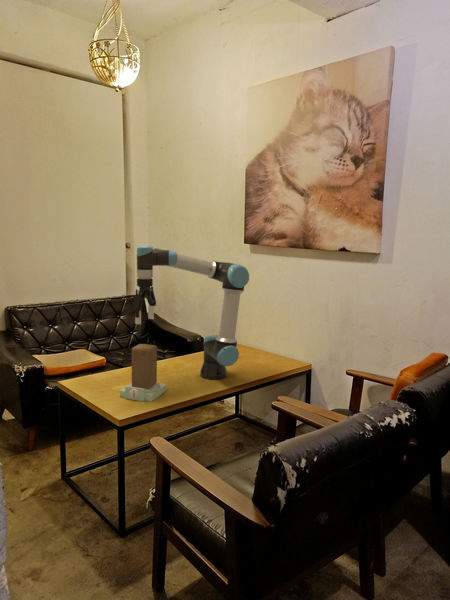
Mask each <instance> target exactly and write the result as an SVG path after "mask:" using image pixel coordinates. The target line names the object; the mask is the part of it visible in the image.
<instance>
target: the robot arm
mask: <svg viewBox="0 0 450 600" xmlns="http://www.w3.org/2000/svg"><path fill="white" fill-rule="evenodd" d="M153 266H154V267H156V266H160V267H161V266H162V267H163V266H165V267H170V268H174V269H179V270H183V271H187V272H191V273H194V274H195V273H196V274H200V275H203V276H207V277H208V278H209V279H213V280H215V281H218V282H219V283H220V282H221V283H222V286H221V289H222V290H223V292H224V293H223V301H222V309H221V314H220V315H221V316H220V325H219V333H218V334H217V335H216V334H215V335H207V336H205V337H203V339H204V340H203V363H202V365H201V368H200V372H199V373H200V374H199V376H200V377H201V378H203V379H207V380H222V379H225V378H227V377H228V376H227V375H228V373H227V371H228V370H227V368H226V367H230V366H233V365H234V364H235V363H237V361H238V360H239V358H240V351H239V349H238V347H237V345H238V340H237V339H236V331H237V324H238V317H239V309H240V308H239V306H240V300H241V294H242V293H243V292H245V286H246V285H247V284H248V283H249V281H250V273H249V271H248V269H247V267H246V266H244V265H242V264H239V263H232V262H223V261H216V260H211V261H208V260H204V259H201V258H200V259H199V258H196V257H192V256H187V255H183V254H179V253H178V252H177V251H176V250H173V249H172V250H170V249H167V250H166V249H161V248H154V247H153V246H152V245H139V246H137V248H136V277H137V279H136V285H137V287H139V289H135V296H134V299H133V305H132V311H135V312H134V318H135V319H134V324H136V325H141V324H142V310H141V309H142V306H143V302H144V300H146V301H147V303H148V307H147V314H148V316H147V317H148V320H154V318H155V307H156V306H157V300H156V296H155V292H154V286H153V285H154V283H153V281H154V280H153V277H154V274H153V273H154V271H153V270H154V268H153Z"/></svg>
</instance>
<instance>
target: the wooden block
mask: <svg viewBox="0 0 450 600" xmlns="http://www.w3.org/2000/svg"><path fill="white" fill-rule="evenodd" d="M157 346H158V345H155V344H144V343H138V344H137V345H135V346H133V347H132V348H131V383H132V387H138V388H145V389H150V388H151V387H152V386H154V385H155V384H156V382H158V381H157V380H158V373H157V371H158V370H157V368H158V363H157V362H158V347H157Z"/></svg>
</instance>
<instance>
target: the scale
mask: <svg viewBox="0 0 450 600" xmlns="http://www.w3.org/2000/svg"><path fill="white" fill-rule="evenodd" d="M167 387H168V385H167V384H166V383H161V382H160V383H159V382H158V381H157V382H156V384H155V385H154V386H152V387H151V388H150V389H145V388H138V387H132V382H130V383H128V384H127V385H126V386H124V388H122V389H120V390H119V397H121V398H125V399H126V400H133V401H137V402H138V401H139V402H145V401H147V402H151V403H152V402H153V401H155V400H156V399H157V398H158V397H160V396H161V395H162V394H163V393H165V392H167V390H168V388H167Z"/></svg>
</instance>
